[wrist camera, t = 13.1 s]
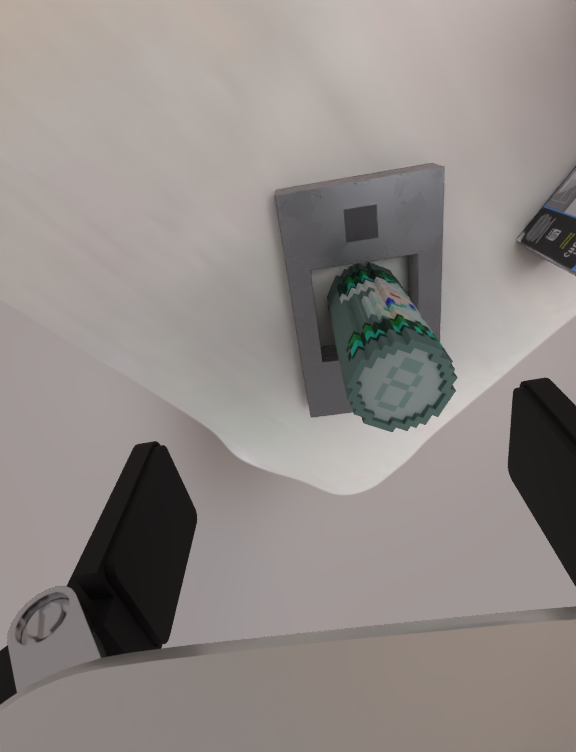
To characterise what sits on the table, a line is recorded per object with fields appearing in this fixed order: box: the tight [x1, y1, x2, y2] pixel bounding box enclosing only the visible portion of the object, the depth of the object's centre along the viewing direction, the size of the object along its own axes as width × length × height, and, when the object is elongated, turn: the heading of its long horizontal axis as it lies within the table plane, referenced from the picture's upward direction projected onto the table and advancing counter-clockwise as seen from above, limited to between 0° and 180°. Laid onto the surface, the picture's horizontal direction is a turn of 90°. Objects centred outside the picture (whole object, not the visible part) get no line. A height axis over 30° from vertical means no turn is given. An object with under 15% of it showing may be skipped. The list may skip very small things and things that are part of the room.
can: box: [327, 262, 457, 432], centre depth 31 cm, size 6×6×15 cm
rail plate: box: [275, 163, 445, 417], centre depth 37 cm, size 12×20×3 cm, turn 9°
